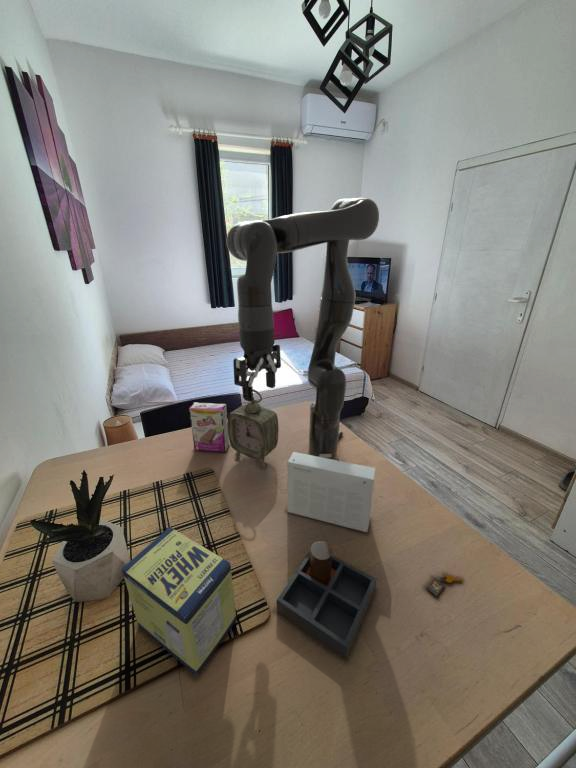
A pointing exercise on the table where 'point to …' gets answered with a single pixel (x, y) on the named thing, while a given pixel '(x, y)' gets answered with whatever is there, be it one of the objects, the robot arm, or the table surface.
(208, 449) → the candy bar box
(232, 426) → the tabletop clock
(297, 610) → the grid
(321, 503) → the skincare box
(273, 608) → the table surface
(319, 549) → the brown cylinder
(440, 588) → the key tag
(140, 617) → the protein box
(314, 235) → the robot arm
